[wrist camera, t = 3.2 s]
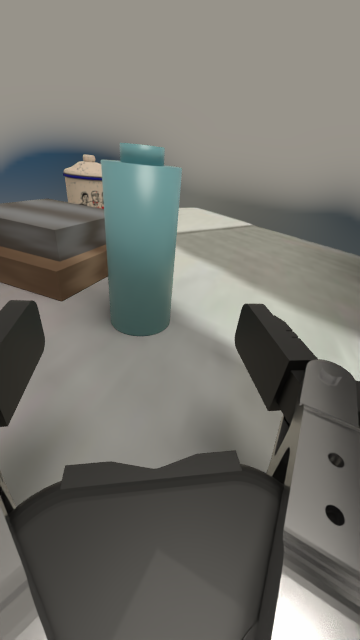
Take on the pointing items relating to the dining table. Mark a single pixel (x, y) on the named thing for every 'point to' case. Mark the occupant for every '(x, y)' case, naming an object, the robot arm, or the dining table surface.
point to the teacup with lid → (85, 183)
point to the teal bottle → (140, 237)
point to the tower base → (53, 272)
